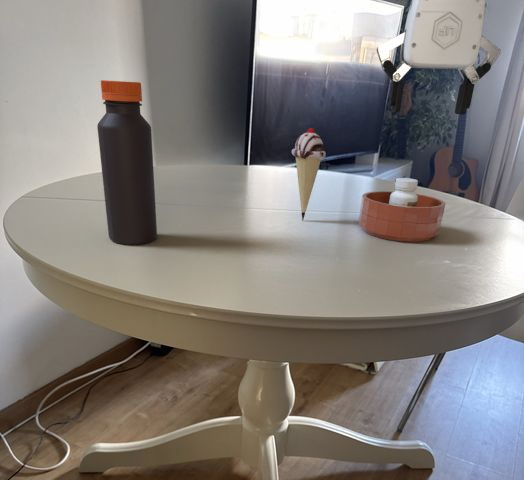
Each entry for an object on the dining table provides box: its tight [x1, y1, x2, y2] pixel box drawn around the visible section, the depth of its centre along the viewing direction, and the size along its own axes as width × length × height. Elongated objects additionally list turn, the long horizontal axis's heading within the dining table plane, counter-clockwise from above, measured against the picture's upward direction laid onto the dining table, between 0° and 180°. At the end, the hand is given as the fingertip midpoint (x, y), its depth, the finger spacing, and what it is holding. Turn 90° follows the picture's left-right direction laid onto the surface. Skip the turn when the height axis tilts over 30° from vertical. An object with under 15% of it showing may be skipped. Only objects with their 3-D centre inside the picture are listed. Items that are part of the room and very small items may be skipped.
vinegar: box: [97, 79, 158, 246], centre depth 65 cm, size 7×7×20 cm
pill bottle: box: [389, 177, 419, 207], centre depth 79 cm, size 4×4×8 cm
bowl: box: [357, 190, 446, 243], centre depth 80 cm, size 13×13×6 cm
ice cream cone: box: [291, 127, 327, 222], centre depth 81 cm, size 6×6×15 cm
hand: (427, 113), depth 72 cm, fingers open, 9 cm apart
